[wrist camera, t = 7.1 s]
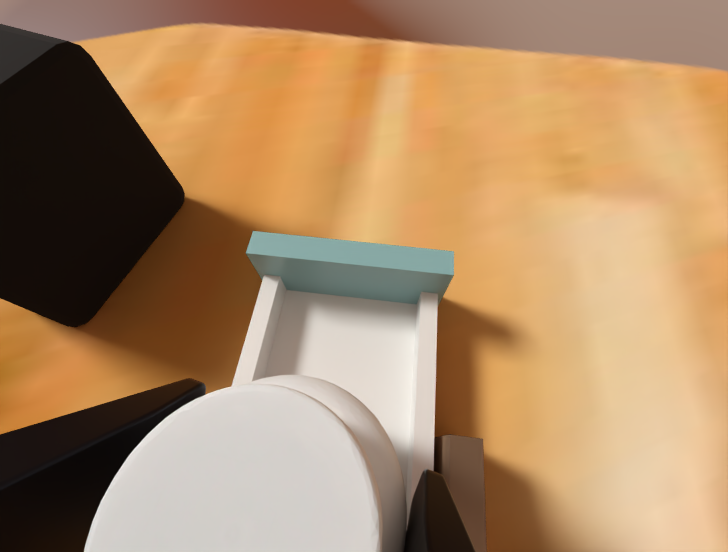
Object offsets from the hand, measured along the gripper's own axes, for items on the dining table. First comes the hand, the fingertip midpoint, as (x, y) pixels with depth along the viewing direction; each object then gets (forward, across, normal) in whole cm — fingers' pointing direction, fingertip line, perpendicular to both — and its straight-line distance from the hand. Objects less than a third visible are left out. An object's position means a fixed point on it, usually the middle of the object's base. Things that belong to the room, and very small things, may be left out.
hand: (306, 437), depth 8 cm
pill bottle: (+4, 0, +6) cm, 7 cm away
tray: (+8, +1, +5) cm, 9 cm away
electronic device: (+10, +17, +2) cm, 20 cm away
